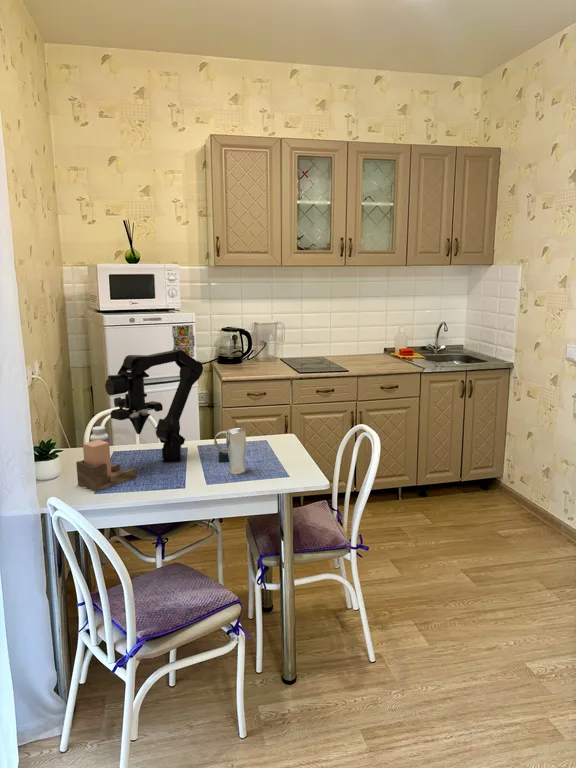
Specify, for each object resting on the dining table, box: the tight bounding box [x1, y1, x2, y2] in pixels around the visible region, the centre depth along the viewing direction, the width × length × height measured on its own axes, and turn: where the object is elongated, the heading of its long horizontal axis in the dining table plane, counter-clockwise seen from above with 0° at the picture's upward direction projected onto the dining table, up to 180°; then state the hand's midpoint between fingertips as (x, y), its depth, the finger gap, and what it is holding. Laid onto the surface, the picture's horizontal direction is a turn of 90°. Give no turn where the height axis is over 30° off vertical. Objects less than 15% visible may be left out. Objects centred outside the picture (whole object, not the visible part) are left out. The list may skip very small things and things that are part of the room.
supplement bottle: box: [89, 425, 110, 444], centre depth 220 cm, size 7×7×13 cm
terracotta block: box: [82, 440, 112, 481], centre depth 195 cm, size 6×6×13 cm
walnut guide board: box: [75, 459, 137, 492], centre depth 199 cm, size 16×10×8 cm, turn 142°
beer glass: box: [225, 427, 247, 475], centre depth 206 cm, size 7×7×15 cm
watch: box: [213, 430, 229, 463], centre depth 219 cm, size 6×8×11 cm
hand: (138, 433), depth 209 cm, fingers closed
